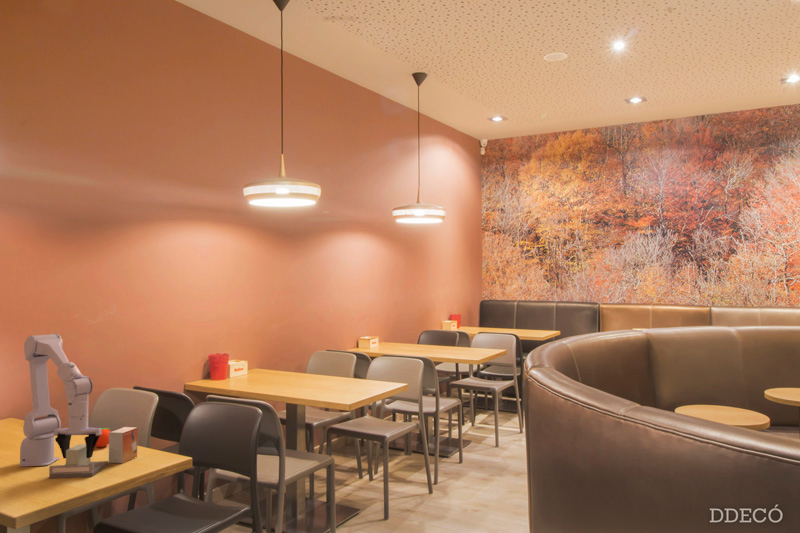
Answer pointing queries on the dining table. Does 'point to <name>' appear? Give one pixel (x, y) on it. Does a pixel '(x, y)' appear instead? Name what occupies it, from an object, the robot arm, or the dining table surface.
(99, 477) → the dining table surface
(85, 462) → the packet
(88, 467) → the grey square slab
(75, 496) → the dining table surface
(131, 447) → the small box
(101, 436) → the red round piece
